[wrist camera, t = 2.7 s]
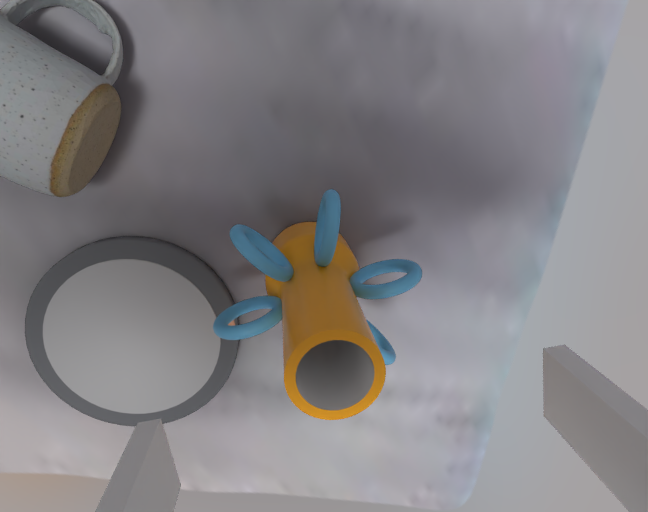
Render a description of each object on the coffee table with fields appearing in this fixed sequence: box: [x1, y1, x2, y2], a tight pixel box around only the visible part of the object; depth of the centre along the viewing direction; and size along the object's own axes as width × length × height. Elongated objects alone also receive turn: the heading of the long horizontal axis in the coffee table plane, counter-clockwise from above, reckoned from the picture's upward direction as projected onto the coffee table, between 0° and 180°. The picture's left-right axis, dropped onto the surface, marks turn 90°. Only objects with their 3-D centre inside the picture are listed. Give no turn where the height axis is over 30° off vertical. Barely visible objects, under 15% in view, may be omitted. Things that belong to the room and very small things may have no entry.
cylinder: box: [213, 189, 422, 420], centre depth 25 cm, size 12×10×15 cm
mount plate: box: [25, 236, 239, 426], centre depth 32 cm, size 14×14×1 cm
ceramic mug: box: [0, 0, 123, 197], centre depth 24 cm, size 11×8×8 cm
